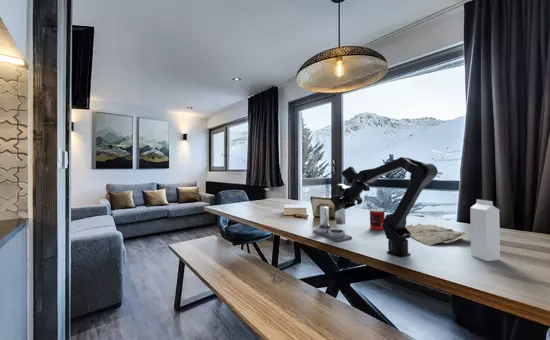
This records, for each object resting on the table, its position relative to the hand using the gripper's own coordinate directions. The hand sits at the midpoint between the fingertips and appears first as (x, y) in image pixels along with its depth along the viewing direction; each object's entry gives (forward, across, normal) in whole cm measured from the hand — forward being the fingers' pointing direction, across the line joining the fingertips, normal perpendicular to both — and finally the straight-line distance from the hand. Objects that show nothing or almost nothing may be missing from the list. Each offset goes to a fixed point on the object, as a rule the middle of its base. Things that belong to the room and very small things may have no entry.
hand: (337, 210), depth 123 cm
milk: (-28, -20, +48) cm, 59 cm away
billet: (+4, 0, +6) cm, 7 cm away
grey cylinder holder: (+11, +3, +7) cm, 14 cm away
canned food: (+6, -27, +13) cm, 30 cm away
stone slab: (-10, -36, +31) cm, 49 cm away
